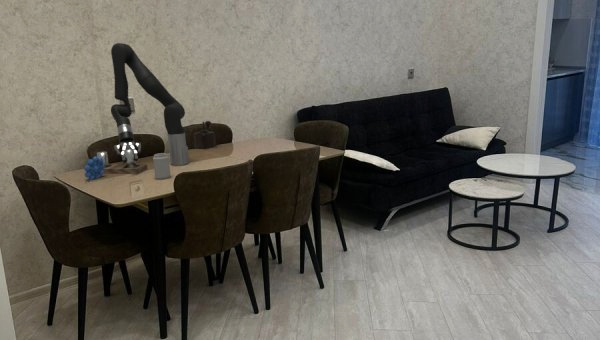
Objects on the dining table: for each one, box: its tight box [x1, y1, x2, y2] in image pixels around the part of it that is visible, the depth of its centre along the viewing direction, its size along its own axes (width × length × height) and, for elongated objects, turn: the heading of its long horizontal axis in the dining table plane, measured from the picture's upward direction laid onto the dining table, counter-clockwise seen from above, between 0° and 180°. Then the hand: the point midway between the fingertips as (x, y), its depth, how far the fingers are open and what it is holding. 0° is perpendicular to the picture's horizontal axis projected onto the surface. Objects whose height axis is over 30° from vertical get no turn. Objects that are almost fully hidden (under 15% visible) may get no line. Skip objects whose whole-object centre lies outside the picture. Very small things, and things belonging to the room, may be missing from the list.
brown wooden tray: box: [102, 163, 149, 176], centre depth 269 cm, size 28×11×4 cm, turn 78°
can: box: [152, 152, 171, 180], centre depth 254 cm, size 8×8×12 cm
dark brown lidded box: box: [192, 120, 217, 150], centre depth 327 cm, size 16×11×18 cm
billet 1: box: [96, 151, 110, 168], centre depth 270 cm, size 5×5×10 cm
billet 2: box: [124, 148, 137, 168], centre depth 266 cm, size 5×5×10 cm
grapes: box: [84, 155, 105, 181], centre depth 255 cm, size 12×7×12 cm, turn 146°
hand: (130, 161), depth 265 cm, fingers closed on billet 2, 5 cm apart
